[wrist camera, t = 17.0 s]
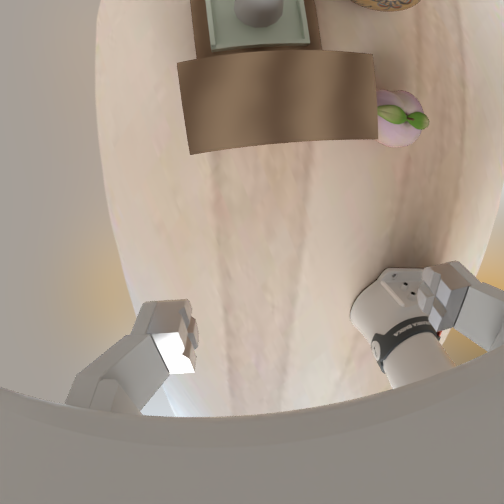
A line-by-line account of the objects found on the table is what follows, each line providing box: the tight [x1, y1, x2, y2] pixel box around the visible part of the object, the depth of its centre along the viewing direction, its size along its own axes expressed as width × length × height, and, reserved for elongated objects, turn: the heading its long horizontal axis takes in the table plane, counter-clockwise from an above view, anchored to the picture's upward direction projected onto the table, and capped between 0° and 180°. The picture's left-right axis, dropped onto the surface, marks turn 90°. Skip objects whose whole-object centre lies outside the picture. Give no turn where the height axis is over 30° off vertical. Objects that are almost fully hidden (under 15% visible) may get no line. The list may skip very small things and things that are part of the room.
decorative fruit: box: [375, 89, 429, 147], centre depth 32 cm, size 9×8×10 cm
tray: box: [205, 0, 310, 52], centre depth 25 cm, size 12×10×2 cm
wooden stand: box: [177, 0, 378, 155], centre depth 24 cm, size 17×22×16 cm
